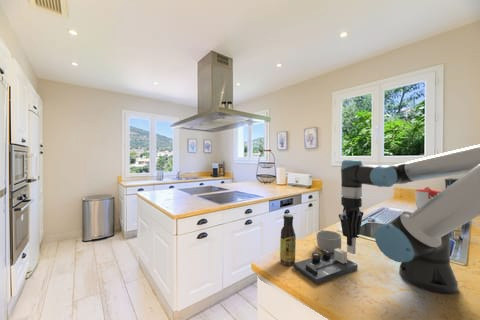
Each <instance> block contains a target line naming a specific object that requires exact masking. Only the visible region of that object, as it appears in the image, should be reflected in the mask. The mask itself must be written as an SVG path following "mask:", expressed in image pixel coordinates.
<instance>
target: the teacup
mask: <svg viewBox="0 0 480 320" xmlns="http://www.w3.org/2000/svg"><path fill="white" fill-rule="evenodd" d="M315 236H316V245H317V247H318V249H319V250H320V251H322V252H323V250H329V251H331V252H333V253H334V249H337V248H339V249H341V250H342V235H341V234H340V233H338V232H337V231H332V230H324V229H321V230H320V231H317V232H316V235H315Z"/></svg>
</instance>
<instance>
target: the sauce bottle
mask: <svg viewBox="0 0 480 320" xmlns="http://www.w3.org/2000/svg"><path fill="white" fill-rule="evenodd" d="M293 221H294V215H292V214H283V226H282V228H281V230H280V245H279V260H280V263H281V264H282V265H285V266H293V263H296V245H297V244H296V242H297V241H296V238H297V237H296V233H295V229H294V225H293V223H294V222H293Z"/></svg>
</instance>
